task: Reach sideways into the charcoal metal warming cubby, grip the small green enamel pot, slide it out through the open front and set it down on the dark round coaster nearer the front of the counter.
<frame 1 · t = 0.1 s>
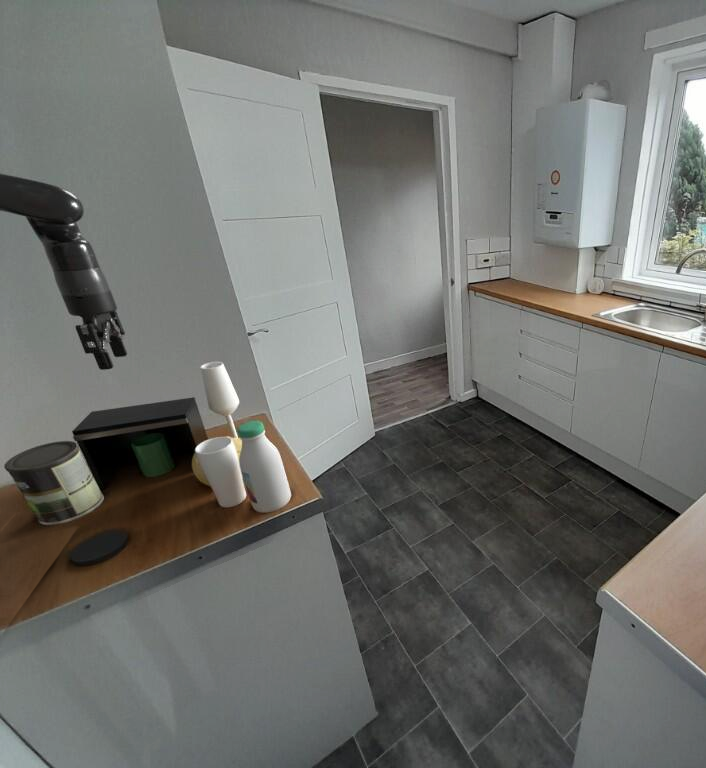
hand: (114, 362, 92), 28 cm above the counter, tool pointing down, fingers open, 8 cm apart
pot: (160, 470, 102), on the counter
coffee can: (73, 508, 89), on the counter
champagne flute: (238, 445, 113), on the counter
milk bottle: (272, 502, 92), on the counter
cubby: (160, 469, 102), on the counter
yellow ball: (228, 478, 99), on the counter
dark round coaster: (101, 549, 79), on the counter
drinking glass: (233, 501, 92), on the counter
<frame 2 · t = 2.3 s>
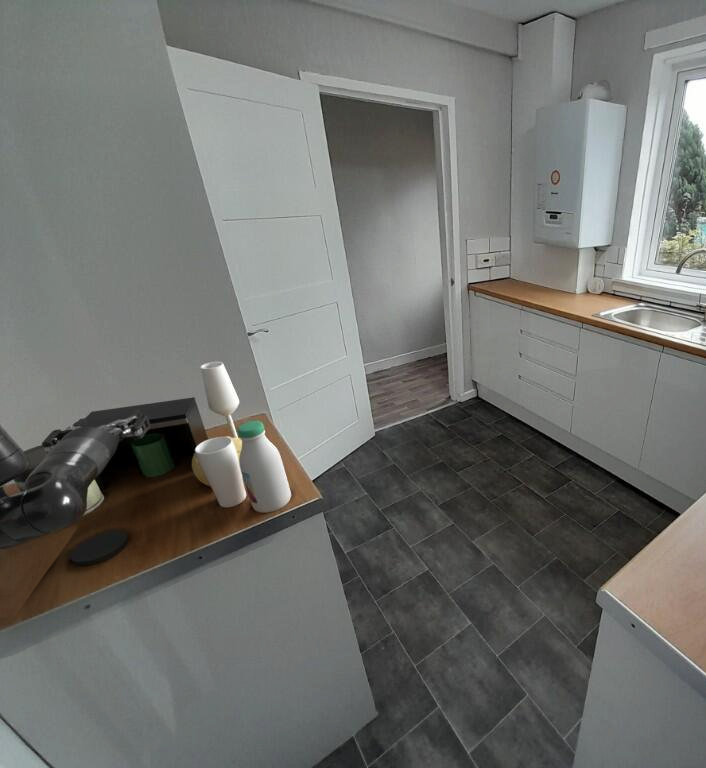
hand: (112, 418, 85), 20 cm above the counter, tool horizontal, fingers open, 8 cm apart
nothing on the counter moved.
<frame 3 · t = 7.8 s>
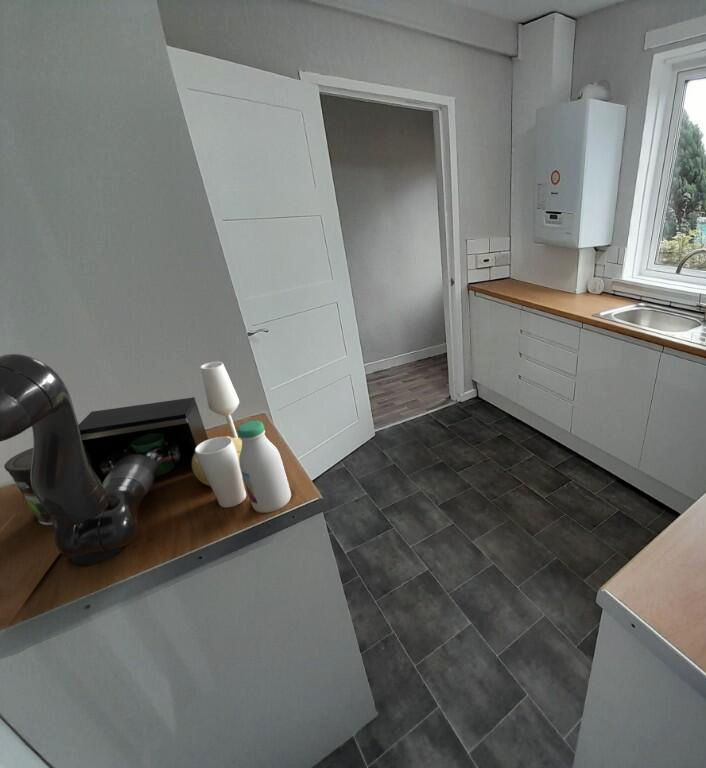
hand: (153, 441, 101), 7 cm above the counter, tool horizontal, fingers closed on pot, 6 cm apart
pot: (160, 470, 102), on the counter, touching gripper
everything else where it was.
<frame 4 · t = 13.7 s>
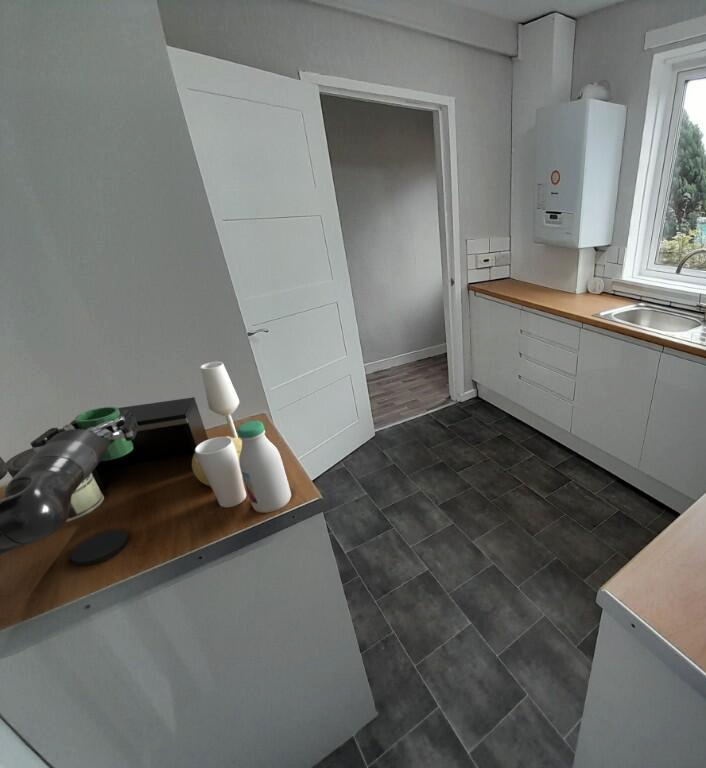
hand: (105, 417, 83), 21 cm above the counter, tool horizontal, fingers closed on pot, 6 cm apart
pot: (113, 452, 84), point 14 cm above the counter, touching gripper
everything else where it was.
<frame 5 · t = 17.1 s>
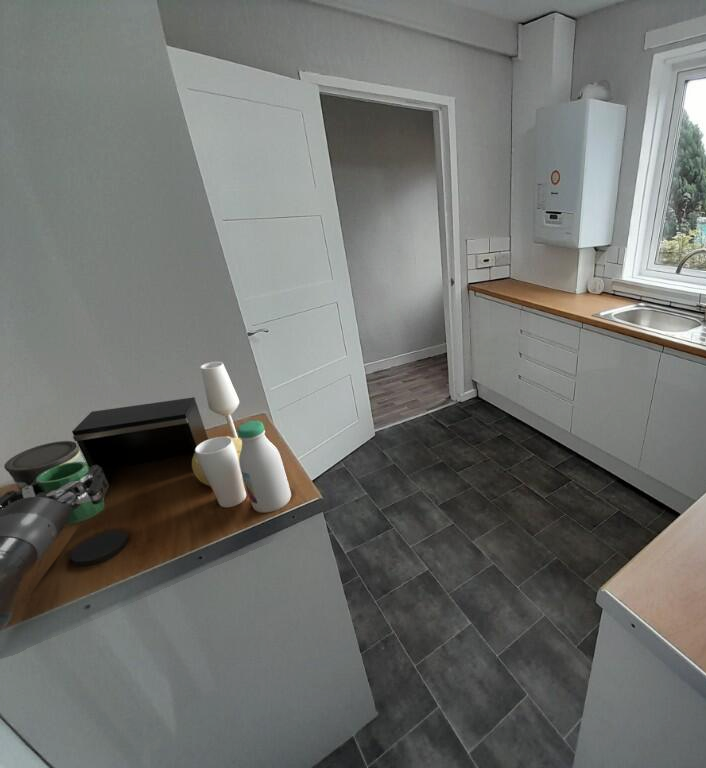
hand: (72, 473, 74), 16 cm above the counter, tool horizontal, fingers closed on pot, 6 cm apart
pot: (82, 512, 75), point 9 cm above the counter, touching gripper
everything else where it was.
when the fingers open (8 cm above the counter, at t = 19.9 s): pot stays where it is, resting on dark round coaster.
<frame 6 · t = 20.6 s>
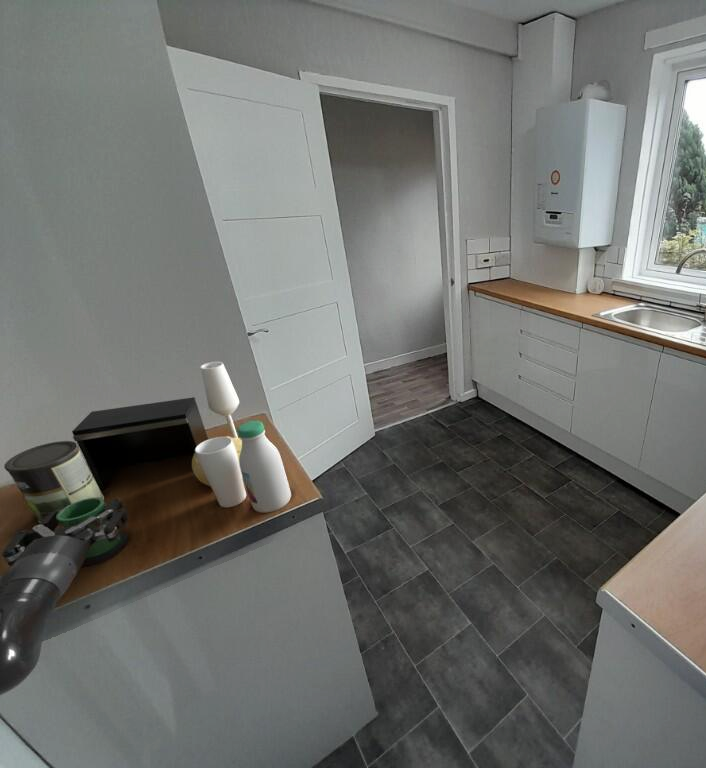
hand: (87, 508, 77), 9 cm above the counter, tool horizontal, fingers open, 8 cm apart
pot: (99, 545, 78), point 1 cm above the counter, touching dark round coaster
everything else where it was.
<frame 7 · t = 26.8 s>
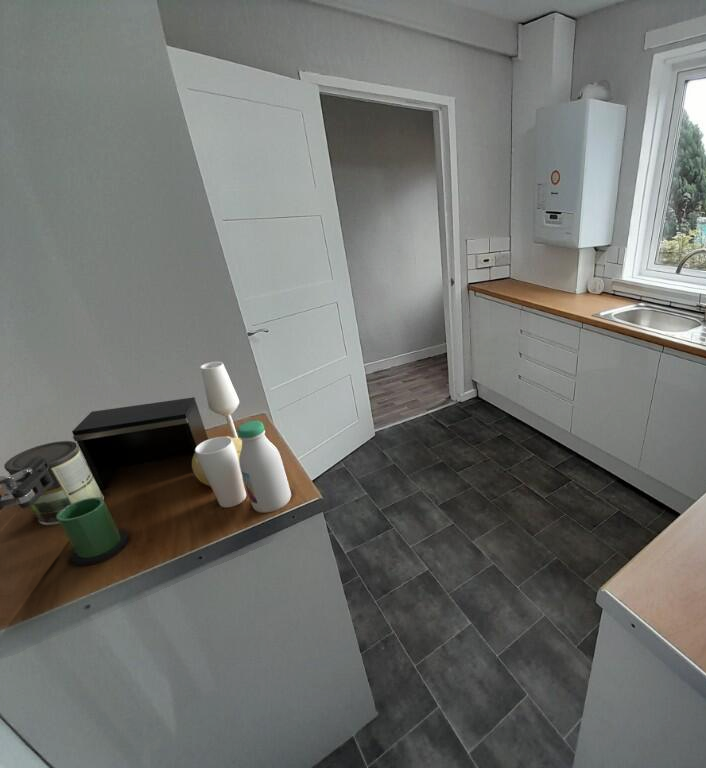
hand: (1, 468, 59), 26 cm above the counter, tool horizontal, fingers open, 8 cm apart
nothing on the counter moved.
at the end: pot 0.1 cm off-centre on the dark round coaster, point 1.0 cm above the dark round coaster's base; pot tilted 0°; the gripper is holding nothing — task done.
